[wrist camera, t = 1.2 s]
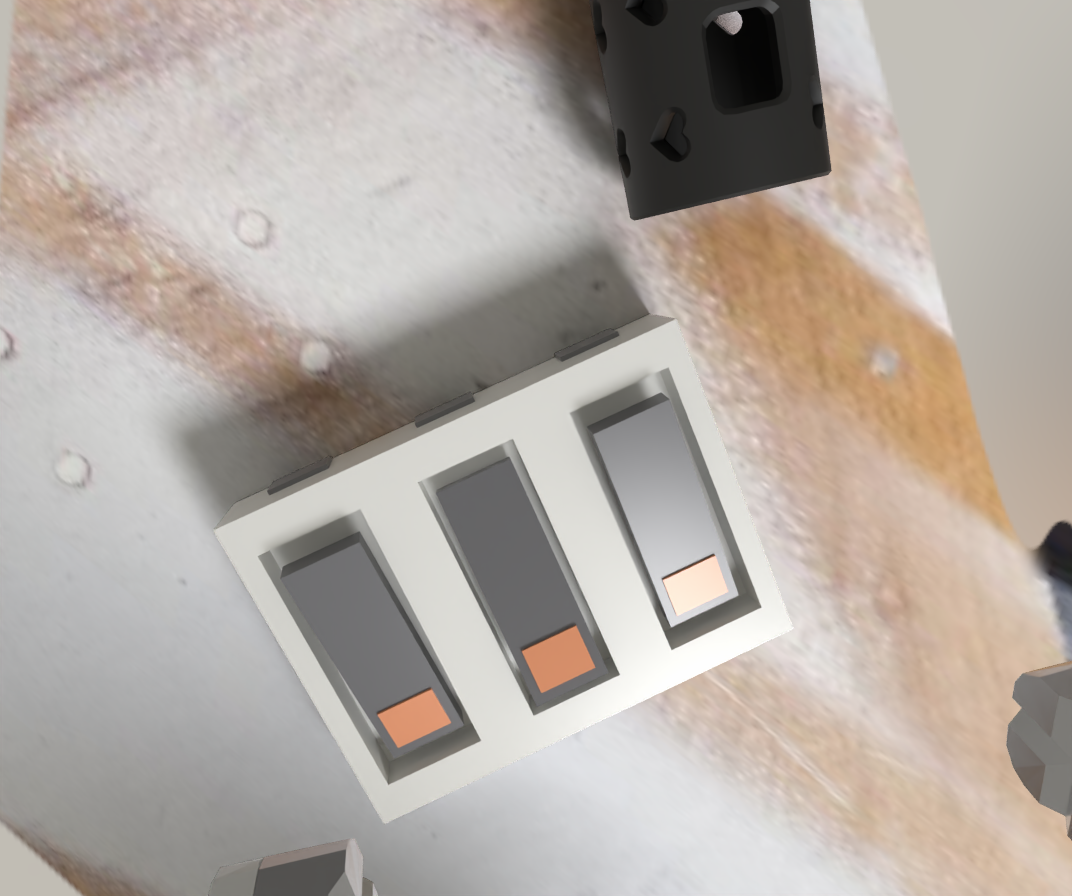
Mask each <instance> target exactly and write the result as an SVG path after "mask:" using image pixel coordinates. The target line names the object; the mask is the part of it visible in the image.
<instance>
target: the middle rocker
mask: <svg viewBox="0 0 1072 896" xmlns="http://www.w3.org/2000/svg"><path fill="white" fill-rule="evenodd" d="M436 495H437V497H438V499H439V501H440V503H441V505H442V507H443V510H444V512H445V514H446V516H447V518H448V520H449V522H450V524H451V526H452V529H453V531H454V533H455V535H456V537H457V539H458V541H459V543H460V545H461V547H462V550H463V552H464V554H465V556H466V558H467V560H468V562H469V564H470V566H471V569H472V571H473V573H474V575H475V577H476V579H477V581H478V583H479V585H480V588H481V590H482V592H483V594H484V596H485V598H486V600H487V602H488V604H489V606H490V609H491V611H492V613H493V615H494V617H495V619H496V621H497V623H498V625H499V628H500V630H501V632H502V634H503V636H504V638H505V640H506V642H507V644H508V647H509V649H510V651H511V653H512V655H513V657H514V659H515V661H516V663H517V665H518V668H519V670H520V672H521V674H522V676H523V678H524V680H525V682H526V684H527V687H528V689H529V691H530V693H531V695H532V697H533V699H534V701H535V703H536V706H537V707H538V706H540V705H542V704H544V703H546V702H548V701H550V700H553V699H555V698H557V697H559V696H561V695H563V694H565V693H567V692H569V691H571V690H574V689H576V688H578V687H580V686H582V685H584V684H586V683H588V682H590V681H593V680H595V679H597V678H599V677H601V676H603V675H605V674H607V673H609V672H608V670H607V668H606V665H605V663H604V661H603V659H602V657H601V655H600V652H599V650H598V648H597V646H596V644H595V642H594V639H593V637H592V635H591V633H590V631H589V628H588V626H587V624H586V622H585V620H584V618H583V615H582V613H581V611H580V609H579V607H578V605H577V602H576V600H575V598H574V596H573V594H572V592H571V589H570V587H569V585H568V583H567V581H566V578H565V576H564V574H563V572H562V570H561V568H560V565H559V563H558V561H557V559H556V557H555V555H554V552H553V550H552V548H551V546H550V544H549V541H548V539H547V537H546V535H545V533H544V531H543V528H542V526H541V524H540V522H539V520H538V518H537V515H536V513H535V511H534V509H533V507H532V504H531V502H530V500H529V498H528V496H527V494H526V491H525V489H524V487H523V485H522V483H521V481H520V478H519V476H518V474H517V472H516V470H515V467H514V465H513V463H512V461H511V459H510V457H507V458H505V459H502V460H500V461H498V462H496V463H494V464H492V465H489V466H487V467H485V468H483V469H481V470H478V471H476V472H474V473H472V474H470V475H468V476H465V477H463V478H461V479H459V480H457V481H455V482H452V483H450V484H448V485H446V486H444V487H442V488H439V489H437V490H436Z"/></svg>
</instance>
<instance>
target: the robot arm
mask: <svg viewBox="0 0 1072 896" xmlns="http://www.w3.org/2000/svg"><path fill="white" fill-rule="evenodd" d="M1012 698H1013V699H1014V700H1015V701H1016V702H1017V703H1018V704H1019V705H1020V707H1021V708H1022V709H1021V710H1020V711H1019V712H1018V714H1017V715H1016V716H1015V717H1014V718H1013V720H1012V721H1011V722H1010V723H1009V724H1008V733H1007V744H1006V746H1007V749H1008V752H1009V755H1010V758H1011V762H1012V765H1013V768H1014V769H1015V771H1016V773H1017V775H1018V776H1019V778H1020V780H1021V781H1022V783H1023V785H1024V786H1025V787H1026V788H1027V789H1028V791H1029V792H1030V793H1031V794H1032V795H1033V796H1034V798H1035V799H1036V800H1037V801H1038V802H1039V803H1040V804H1042V805H1044V806H1046V807H1048V808H1050V809H1052V810H1054V811H1056V812H1058V813H1060V814H1062V815H1064V816H1065V817H1066V827H1067V836H1068V837H1069V838H1070V839H1071V840H1072V661H1069V662H1065V663H1061V664H1057V665H1053V666H1049V667H1045V668H1042V669H1038V670H1034V671H1030V672H1026V673H1023V674H1022V675H1021V676H1020V677H1019V678H1018V679H1017V680H1016V681H1015V685H1014V691H1013V697H1012ZM362 876H363V855H362V853H361V851H360V848H359V846H358V844H357V842H356V839H355V838H353V839H346V840H341V841H337V842H332V843H327V844H323V845H318V846H313V847H309V848H304V849H299V850H295V851H290V852H285V853H281V854H276V855H272V856H267V857H264V858H259V859H255V860H250V861H246V862H242V863H237V864H233V865H229V866H224V867H220V869H219V870H218V872H217V874H216V876H215V877H214V879H213V881H212V883H211V886H210V890H209V894H208V896H378V894H377V892H376V889H375V886H374V883H373V882H372V881H370V880H368V879H366V878H364V877H362Z"/></svg>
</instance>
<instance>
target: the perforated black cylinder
mask: <svg viewBox="0 0 1072 896" xmlns="http://www.w3.org/2000/svg"><path fill="white" fill-rule="evenodd" d="M589 4H590V9H591V14H592V20H593V25H594V30H595V35H596V40H597V46H598V51H599V56H600V61H601V67H602V72H603V77H604V82H605V88H606V93H607V98H608V103H609V109H610V114H611V119H612V124H613V130H614V135H615V140H616V145H617V150H618V155H619V161H620V166H621V171H622V177H623V182H624V187H625V192H626V198H627V203H628V208H629V213H630V218H631V219H633V220H634V221H635V220H639V219H643V218H648V217H652V216H656V215H660V214H665V213H669V212H673V211H677V210H681V209H686V208H690V207H694V206H698V205H703V204H707V203H711V202H715V201H720V200H724V199H728V198H732V197H737V196H741V195H745V194H749V193H754V192H758V191H762V190H766V189H770V188H775V187H779V186H783V185H787V184H792V183H796V182H800V181H804V180H809V179H813V178H817V177H821V176H826V175H828V174H829V173H830V172H831V163H830V155H829V147H828V139H827V132H826V124H825V116H824V108H823V101H822V93H821V85H820V77H819V69H818V61H817V54H816V46H815V38H814V30H813V22H812V15H811V7H810V0H589ZM734 11H738V13H739V14H740V15H741V17H742V21H743V23H742V27H741V29H740V30H739V31H738V33H736V34H734V35H733V34H731V33H729V32H728V31H727V30H726V29H725V28H724V27H722V26H721V25H720V24H718V23H717V22H716V19H717V18H718V16H719V15H721V14H725V13H730V12H734Z"/></svg>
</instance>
